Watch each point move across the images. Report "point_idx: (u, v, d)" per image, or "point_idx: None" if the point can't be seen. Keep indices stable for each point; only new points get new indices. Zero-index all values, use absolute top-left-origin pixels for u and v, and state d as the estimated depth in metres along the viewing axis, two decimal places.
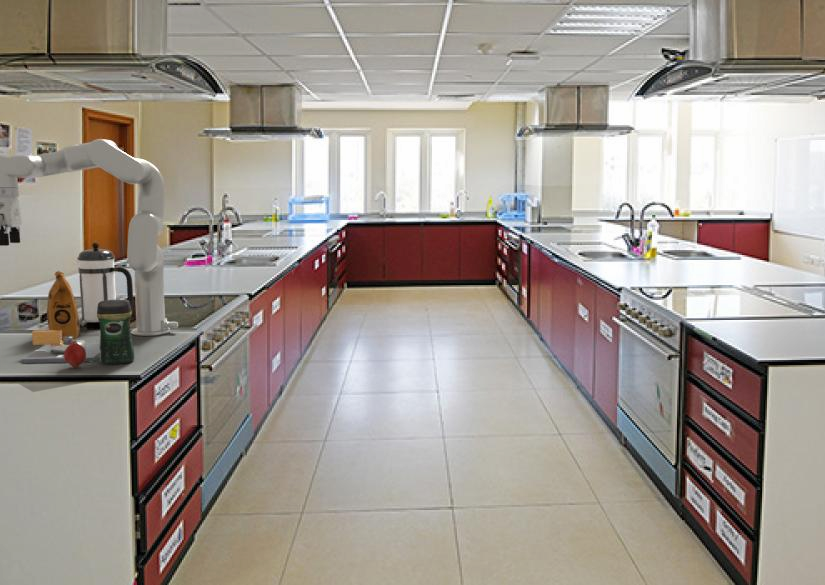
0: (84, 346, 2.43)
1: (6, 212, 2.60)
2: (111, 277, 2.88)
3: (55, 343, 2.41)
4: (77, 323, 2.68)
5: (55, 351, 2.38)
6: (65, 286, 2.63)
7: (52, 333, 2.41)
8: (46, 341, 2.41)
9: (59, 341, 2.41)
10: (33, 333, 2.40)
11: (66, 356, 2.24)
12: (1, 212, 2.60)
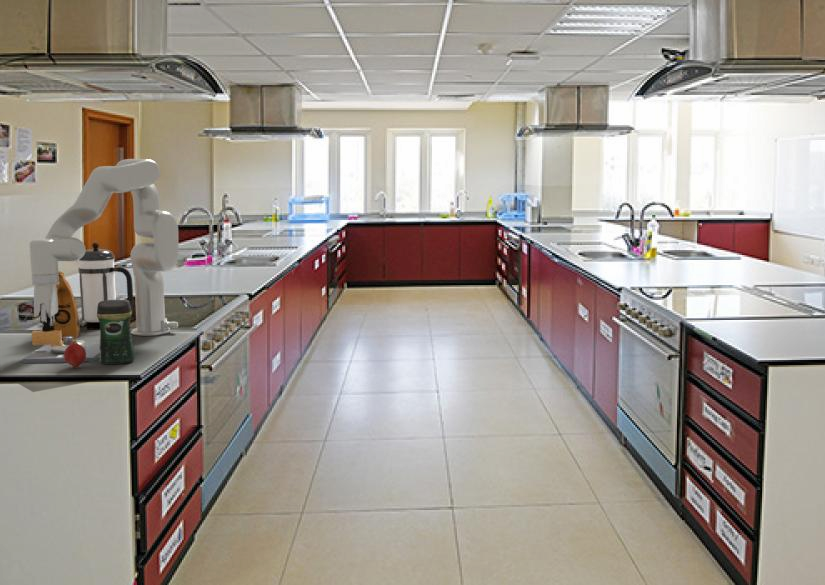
0: (84, 346, 2.43)
1: None
2: (111, 277, 2.88)
3: (55, 343, 2.41)
4: (77, 323, 2.68)
5: (56, 351, 2.38)
6: (65, 286, 2.63)
7: (52, 334, 2.40)
8: (46, 341, 2.40)
9: (59, 341, 2.41)
10: (33, 333, 2.39)
11: (66, 356, 2.24)
12: None
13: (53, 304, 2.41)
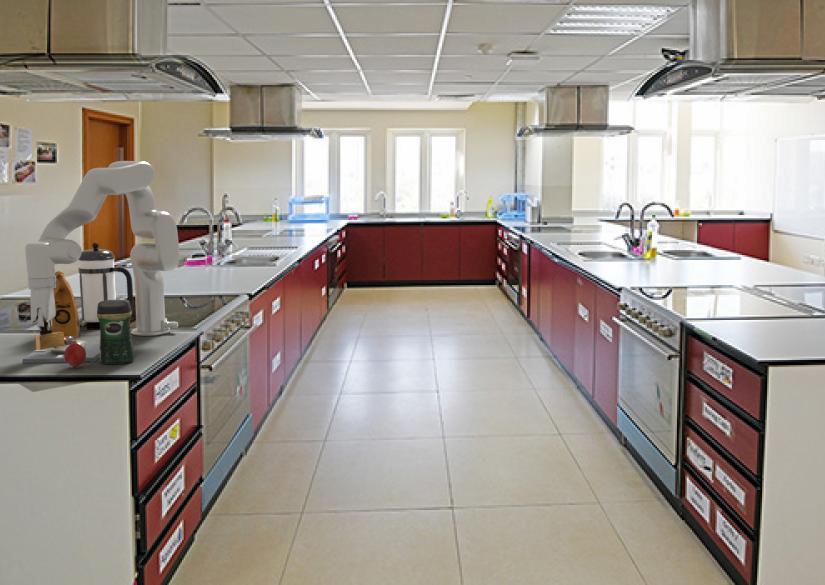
0: None
1: None
2: (111, 277, 2.88)
3: (60, 344, 2.39)
4: (77, 323, 2.68)
5: None
6: (65, 286, 2.63)
7: (57, 335, 2.38)
8: (52, 344, 2.37)
9: (63, 342, 2.40)
10: (40, 338, 2.33)
11: (66, 356, 2.24)
12: None
13: (50, 308, 2.36)
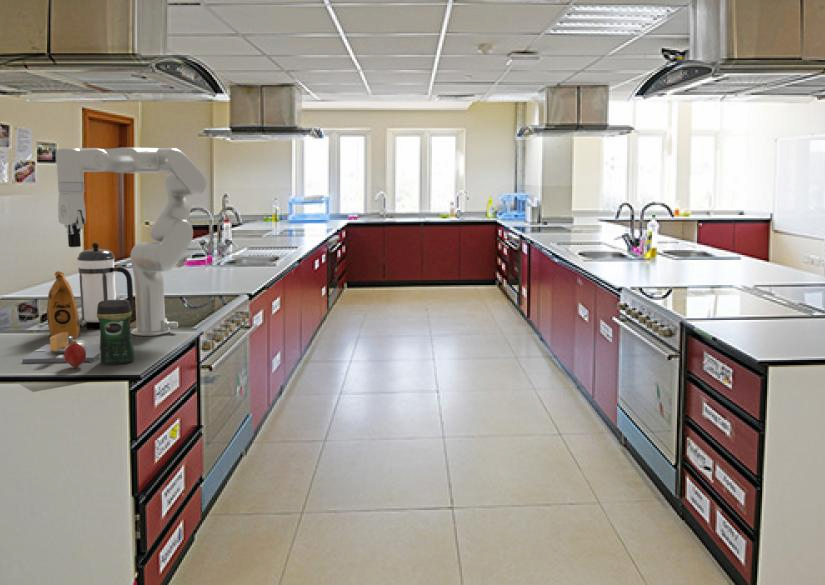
0: None
1: None
2: (111, 277, 2.88)
3: (67, 344, 2.39)
4: (77, 323, 2.68)
5: None
6: (65, 286, 2.63)
7: (65, 335, 2.38)
8: (63, 344, 2.37)
9: (68, 342, 2.40)
10: (57, 338, 2.33)
11: (66, 356, 2.24)
12: None
13: None
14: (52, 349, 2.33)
